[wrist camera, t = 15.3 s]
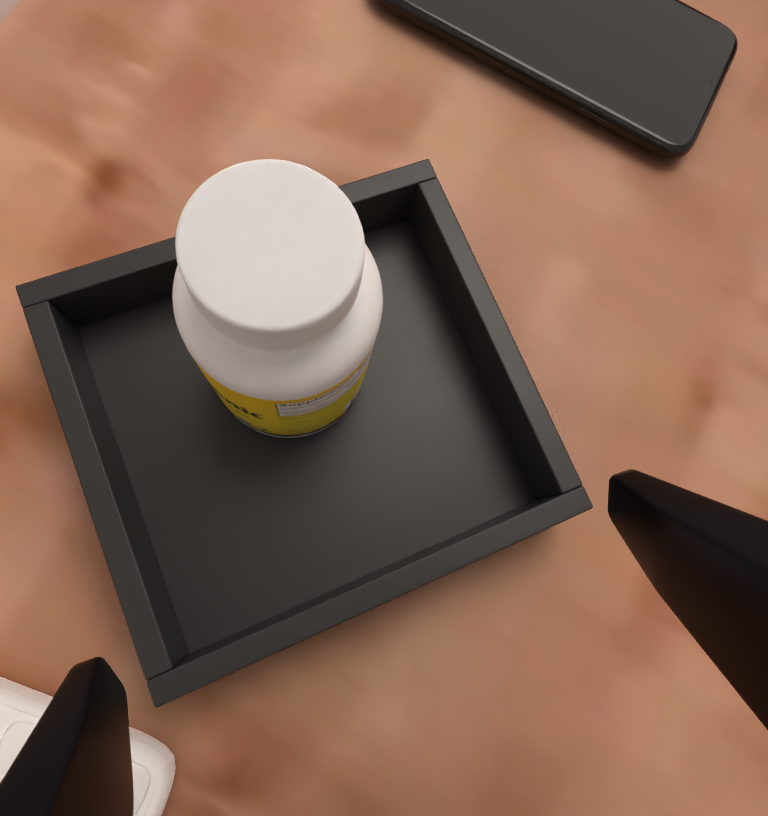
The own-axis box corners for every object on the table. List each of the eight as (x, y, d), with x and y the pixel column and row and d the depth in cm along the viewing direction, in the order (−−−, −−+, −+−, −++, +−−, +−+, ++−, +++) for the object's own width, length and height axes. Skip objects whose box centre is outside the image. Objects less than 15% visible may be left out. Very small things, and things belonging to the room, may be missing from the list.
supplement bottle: (190, 332, 22) (99, 172, 13) (326, 279, 23) (336, 94, 14) (249, 466, 21) (200, 404, 12) (387, 405, 22) (444, 301, 13)
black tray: (556, 512, 23) (594, 507, 20) (178, 684, 20) (154, 708, 17) (414, 204, 25) (428, 157, 22) (54, 320, 22) (14, 285, 19)
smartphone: (358, 1, 27) (676, 173, 27) (360, -17, 26) (689, 160, 26) (438, -112, 29) (734, 47, 29) (442, -133, 28) (747, 32, 28)
